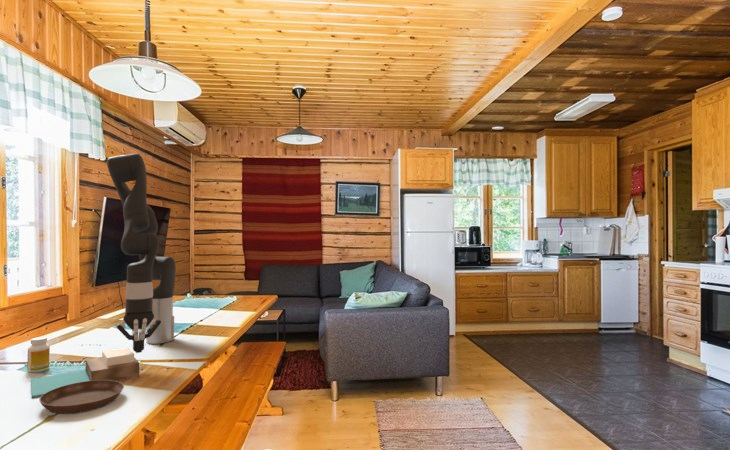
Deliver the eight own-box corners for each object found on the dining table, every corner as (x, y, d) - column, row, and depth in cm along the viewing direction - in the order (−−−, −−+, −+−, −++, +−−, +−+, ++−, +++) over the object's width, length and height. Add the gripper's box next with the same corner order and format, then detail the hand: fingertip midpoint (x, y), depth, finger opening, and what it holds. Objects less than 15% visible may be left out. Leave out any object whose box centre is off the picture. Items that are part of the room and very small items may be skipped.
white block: (128, 354, 133) (128, 347, 133) (133, 361, 126) (134, 353, 126) (102, 358, 128) (102, 351, 128) (106, 366, 121) (107, 358, 121)
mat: (84, 371, 128) (85, 369, 128) (91, 386, 116) (91, 384, 116) (30, 381, 120) (30, 378, 120) (31, 398, 108) (32, 395, 108)
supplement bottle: (53, 368, 132) (54, 337, 132) (35, 373, 127) (35, 341, 127) (41, 366, 133) (42, 335, 134) (23, 371, 128) (23, 339, 128)
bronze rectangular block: (129, 364, 135) (130, 352, 135) (139, 376, 124) (139, 363, 125) (85, 372, 128) (85, 359, 128) (91, 385, 117) (91, 371, 117)
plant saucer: (108, 385, 118) (108, 374, 118) (135, 401, 107) (135, 389, 107) (30, 404, 104) (30, 392, 105) (51, 426, 93) (51, 412, 93)
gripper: (159, 293, 138) (158, 346, 138) (112, 296, 129) (111, 353, 129) (165, 295, 132) (164, 351, 132) (117, 299, 124) (116, 358, 123)
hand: (138, 352), depth 131 cm, fingers closed
